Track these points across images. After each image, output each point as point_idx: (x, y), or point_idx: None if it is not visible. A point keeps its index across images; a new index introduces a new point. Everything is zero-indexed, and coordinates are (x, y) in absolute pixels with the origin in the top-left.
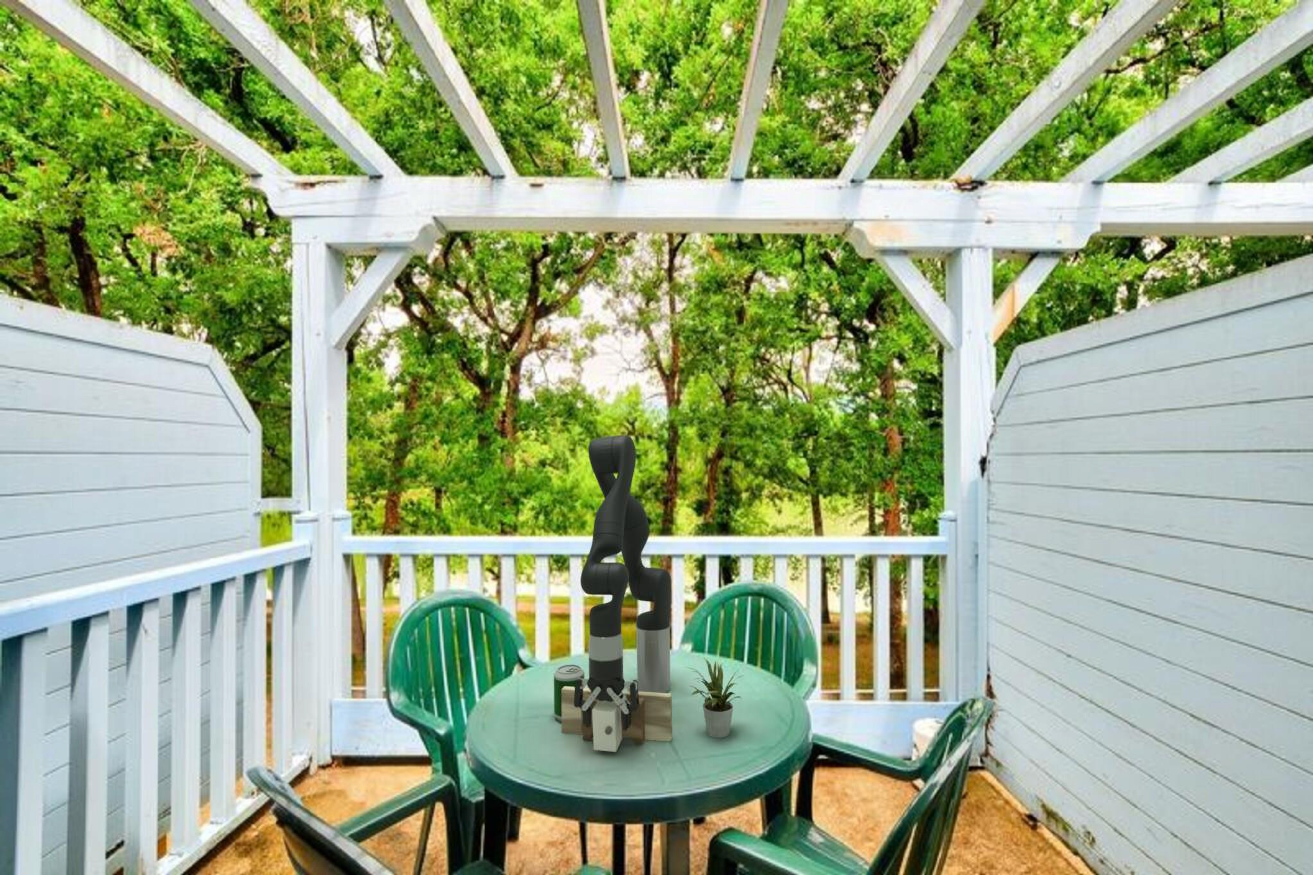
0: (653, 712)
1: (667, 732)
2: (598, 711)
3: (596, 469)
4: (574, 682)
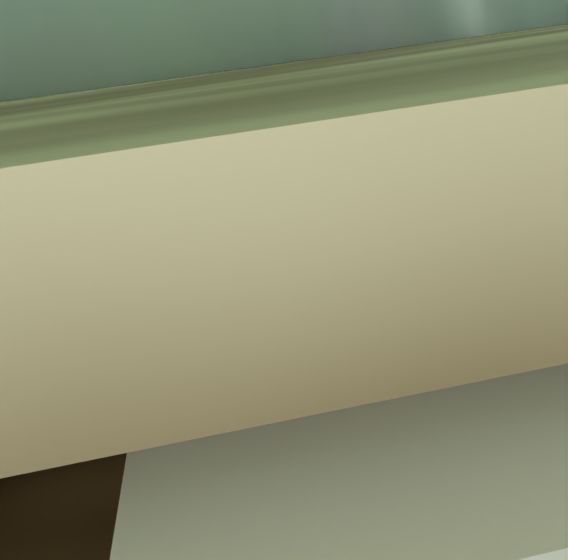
0: None
1: None
2: None
3: None
4: None
